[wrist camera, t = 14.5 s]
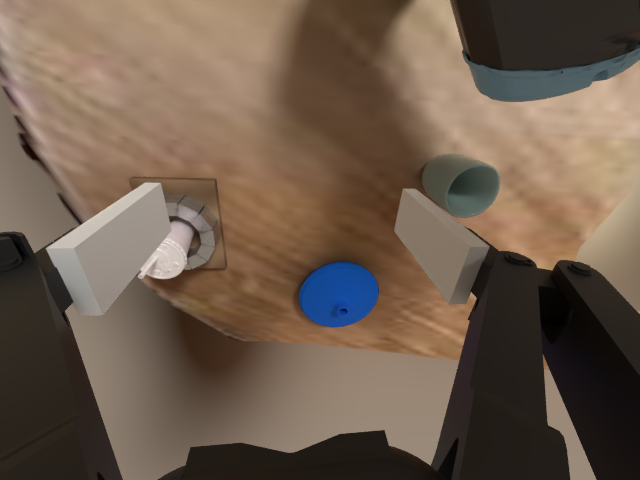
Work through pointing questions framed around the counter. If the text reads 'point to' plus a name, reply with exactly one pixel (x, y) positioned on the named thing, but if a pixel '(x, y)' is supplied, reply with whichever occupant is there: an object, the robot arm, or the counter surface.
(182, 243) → the smoothie
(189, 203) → the ring
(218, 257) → the board
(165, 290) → the counter surface
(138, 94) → the counter surface
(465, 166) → the cup
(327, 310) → the blue funnel
